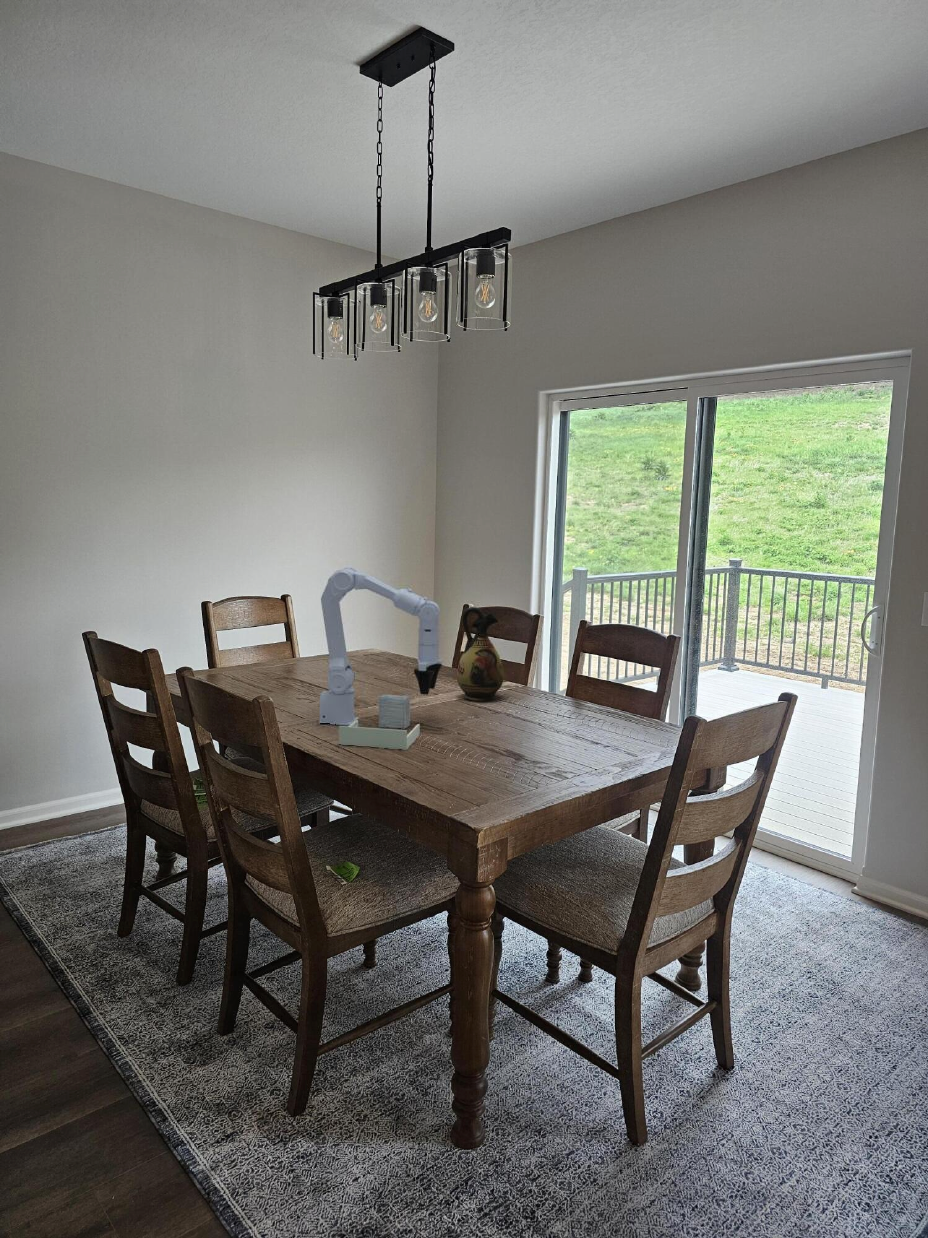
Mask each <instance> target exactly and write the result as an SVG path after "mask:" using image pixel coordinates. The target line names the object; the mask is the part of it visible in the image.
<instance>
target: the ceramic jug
mask: <svg viewBox="0 0 928 1238" xmlns="http://www.w3.org/2000/svg"><path fill="white" fill-rule="evenodd" d="M473 614H476V615H477V616H478V617H477V618H476V619H475V620H474V621H473V622H472V623H471V626H472V628H476V633H475V634H474V635H473V636H472V632H471V630H470V627H469V626H470V625H469V623H468V616H469V615H473ZM461 619H462V626H463V629H464V633H465V636H466V639H467V640H466V643H465V646H464V651H463V654H462V655H461V657H460V660H459V662H458V666H457V670H456V681H457V684H458V686H459V687H460V689H461V691H462V692H463V693H464V698H465V699H468V700H470V701H476V702H484V703H485V702H490V701H494V700H495V696H496V694H497V692H499V690H500V689H501V688H502V686H503V683H504V679H505V672H504V670H505V669H504V666H503V663H502V659H501V657H500V654H499V653H498V650H497V649H496V648H495V646H494V645H493V643H492V641H491V640H490V637H489V635H488V629H489V628H490V627H492V626H495V625H497V624H500V623H501V621H500V619H498V618H497V617H496V615H495V614H494V613H493V612H488V613H486V615H484V613H483V611H482V609H480V608H478V607H477V606H476V607H475V606H470V607H468V608H466V609H465V610H463V614H462V617H461Z"/></svg>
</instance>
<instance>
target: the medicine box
mask: <svg viewBox="0 0 928 1238" xmlns="http://www.w3.org/2000/svg"><path fill="white" fill-rule="evenodd" d="M410 701H411V697H410V696H409V695H399V694H383V695H381V696H380V697H378V727H379V728H387V727H388V728H387V729H398V728H401V729H400V730H406V729H407V728H408V727H410V726H411V714H410V712H411V702H410ZM405 728H406V729H405Z"/></svg>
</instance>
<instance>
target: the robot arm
mask: <svg viewBox="0 0 928 1238" xmlns="http://www.w3.org/2000/svg"><path fill="white" fill-rule="evenodd" d="M353 589H354V590H356V591H357V590H367V591H370V592H373V593H375V594H377V595H380V596H382V597H384V598H386V599H388V600H391V601H392V602H393V604H394V605H393V606H394V607H395V608H397V609H399V610H401V611H403V612H405V613H407V614H409V615H411V616H413V617H416V616H417V618H418V619H419V628H418V647H417V649H418V651H417V652H418V653H417V654H418V655H417V660H416V661H417V664H418V668H417V667H416V668H414V669H413V673H414V675H415V676H416V677H415V678H416V680H417V683H418V688H419V693H420V695H429V694H430V690H435V687H436V685H437V678H438V675H439V673H440V670H441V667H442V666H443V665H442V663H443V659H439V649H440V648H439V644H440V643H439V642H440V640H439V639H440V638H439V637H440V627H439V625H440V622H439V616H440V614H441V608H440V606H439V605H438V603H437V602H435V601H434V600H432V599H428V597H426V596H423V597H422V596H421V595H417V594H416V593H414V592H413V589H411V588H407V589H406V588H401V589H396V588H394V587H392V586H391V585H388V584H387V583H385V582H383V581H381V580H379V579H378V578H376V577H373V576H371V575H370V574H367V573H365V572H363V571H361V570H356V569H355V568H353V567H344V568H342V569H338V570H336V571H335V572H334V573H332V575H330V576H329V578H328V579H327V584H326V585H325V588H324V590H323V591H322V594H321V597H320V604H321V610H322V616H323V624H324V630H325V637H326V643H327V649H328V656H329V657H328V658H329V661H328V663H329V664H328V677H327V679H326V680H327V681H326V682H327V683H326V684H327V685H326V686H327V688H328V690H323V691H321V693H320V696H319V721H318V724H320V723H330V724H329V725H335V724H336V725H337V726H349V725H351V724H352V723H353V722H354V721H356V720H358V721H359V717H358V716H355V689H354V686H353V683H354V682H355V680H356V673H355V671H354V669H353V667H352V665H351V661H350V659H349V657H348V652H347V647H346V639H345V633H344V625H343V619H342V611H341V604H340V602H341V601H342V600H343V599H344V597H345V596H347V594H348V593H349V592H351V591H352V590H353Z"/></svg>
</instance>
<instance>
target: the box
mask: <svg viewBox="0 0 928 1238" xmlns="http://www.w3.org/2000/svg"><path fill="white" fill-rule="evenodd" d="M420 725H421V724H420V723H418V724H416V725H415V726H414V727H413V728H412V729H411V730H410V732H409V733H408V730H406V729H394V728H380V727H379V728H377V727H364V726H363V727H361V726H360V727H359V719H358V720H356V721H354V722H353V723H352V724H351V725H338V745H339V744H343V745H357V746H371V747H379V748H378V749H384V748H388V749H387V750H398V749H402V750H401V751H407V750H408V749H409V748H410V747H411V745H413V743H414V742H415V741H416V740H417V739H418V737H419V736H420V735H421V734H420V733H421V731H420V730H421V729H420V728H421V726H420ZM416 738H417V739H416ZM409 746H410V747H409Z"/></svg>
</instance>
